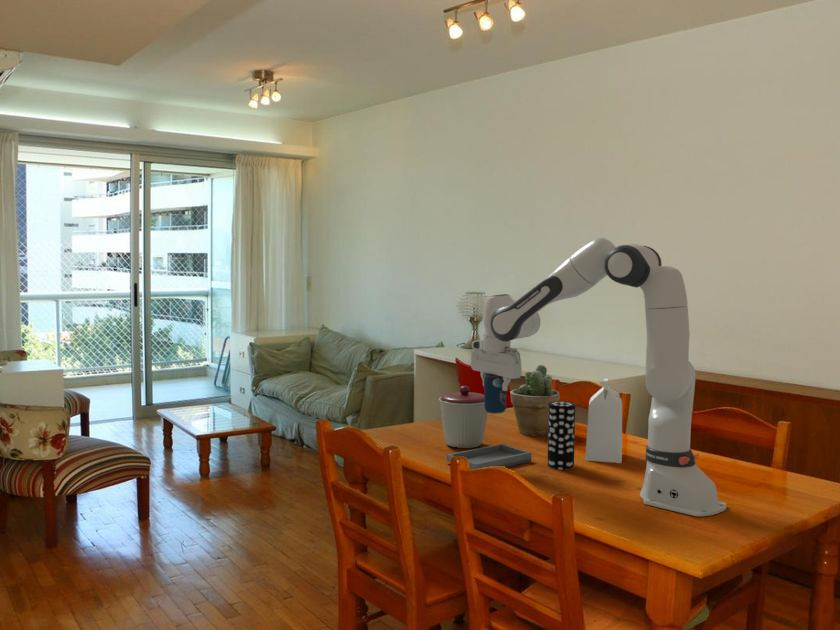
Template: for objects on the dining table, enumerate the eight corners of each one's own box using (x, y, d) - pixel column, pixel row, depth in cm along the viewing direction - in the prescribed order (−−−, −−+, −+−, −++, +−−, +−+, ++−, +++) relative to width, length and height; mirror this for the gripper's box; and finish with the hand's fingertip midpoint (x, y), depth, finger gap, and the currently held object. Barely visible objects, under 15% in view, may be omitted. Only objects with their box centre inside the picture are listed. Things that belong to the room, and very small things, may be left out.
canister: (461, 436, 274) (462, 379, 272) (500, 445, 261) (501, 386, 259) (427, 444, 261) (428, 385, 259) (466, 454, 248) (466, 392, 246)
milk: (587, 451, 254) (589, 376, 252) (622, 453, 251) (624, 377, 249) (585, 460, 242) (587, 381, 240) (621, 463, 239) (623, 383, 237)
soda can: (506, 414, 232) (505, 376, 231) (484, 414, 233) (483, 376, 232) (506, 409, 239) (505, 372, 238) (484, 409, 240) (484, 372, 239)
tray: (531, 461, 240) (531, 452, 240) (475, 474, 226) (475, 464, 225) (501, 452, 251) (501, 443, 251) (446, 463, 237) (446, 454, 237)
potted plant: (562, 438, 271) (564, 371, 269) (512, 438, 271) (513, 370, 269) (554, 427, 289) (555, 364, 287) (507, 426, 290) (508, 363, 288)
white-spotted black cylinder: (573, 470, 230) (575, 407, 229) (546, 468, 232) (548, 405, 231) (573, 463, 239) (575, 402, 237) (547, 461, 240) (549, 400, 239)
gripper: (527, 348, 228) (525, 393, 229) (482, 341, 244) (481, 382, 245) (512, 349, 224) (510, 394, 225) (468, 342, 240) (466, 384, 241)
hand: (494, 388), depth 235 cm, fingers closed on soda can, 7 cm apart
